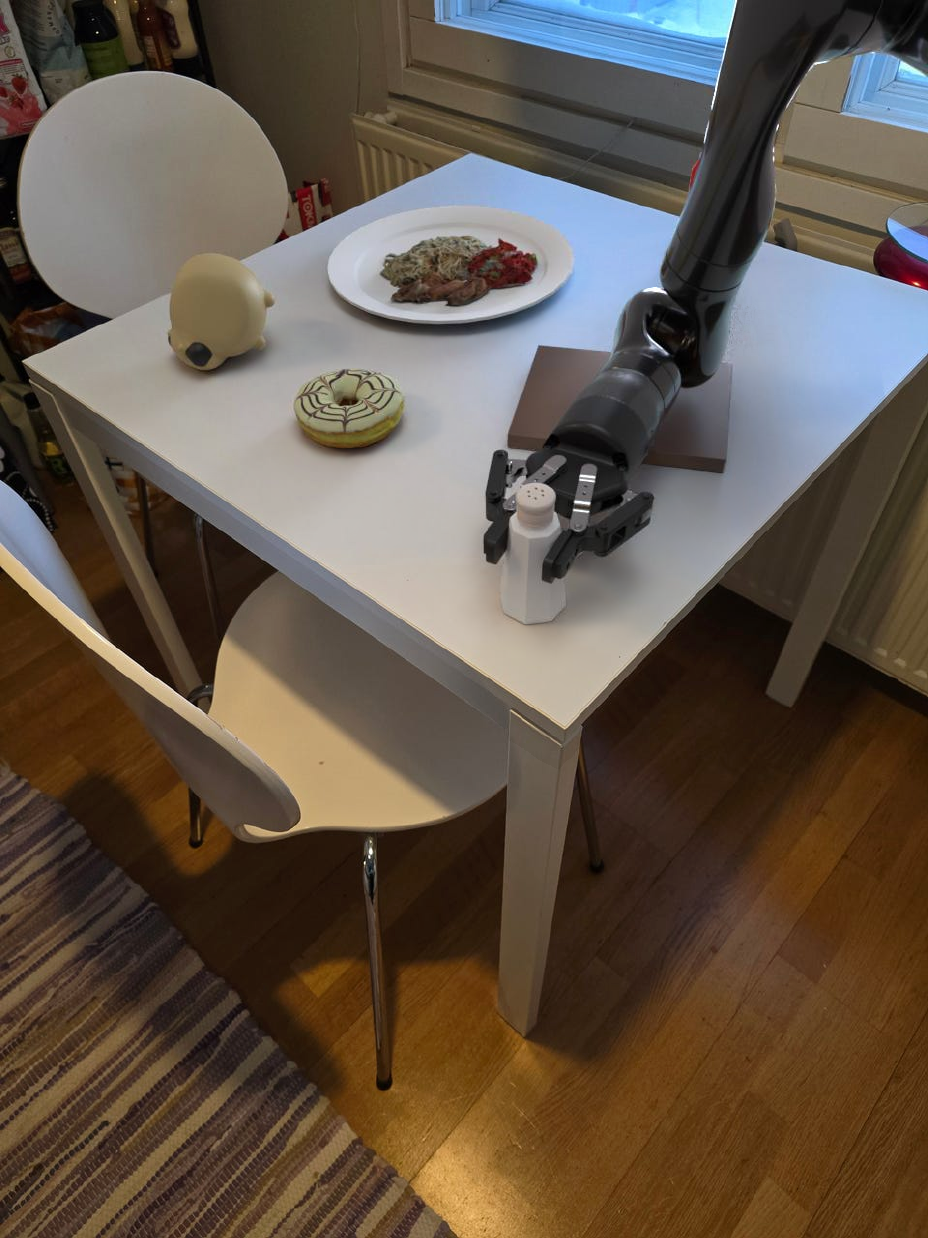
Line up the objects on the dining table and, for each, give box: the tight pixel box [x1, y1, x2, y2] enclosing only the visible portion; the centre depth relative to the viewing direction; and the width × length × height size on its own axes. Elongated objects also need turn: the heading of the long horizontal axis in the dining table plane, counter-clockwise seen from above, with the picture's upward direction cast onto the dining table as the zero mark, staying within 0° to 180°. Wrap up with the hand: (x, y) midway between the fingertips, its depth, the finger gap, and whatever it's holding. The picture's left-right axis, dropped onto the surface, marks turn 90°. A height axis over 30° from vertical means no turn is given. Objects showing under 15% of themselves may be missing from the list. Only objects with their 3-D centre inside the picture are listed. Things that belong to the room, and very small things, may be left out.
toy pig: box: [167, 252, 276, 371], centre depth 90 cm, size 10×12×11 cm
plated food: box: [326, 204, 575, 325], centre depth 102 cm, size 30×30×3 cm
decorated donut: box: [293, 368, 405, 449], centre depth 82 cm, size 10×11×4 cm
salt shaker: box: [498, 483, 567, 625], centre depth 62 cm, size 5×5×11 cm
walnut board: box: [507, 344, 733, 474], centre depth 82 cm, size 20×16×2 cm
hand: (518, 563), depth 60 cm, fingers closed on salt shaker, 4 cm apart
